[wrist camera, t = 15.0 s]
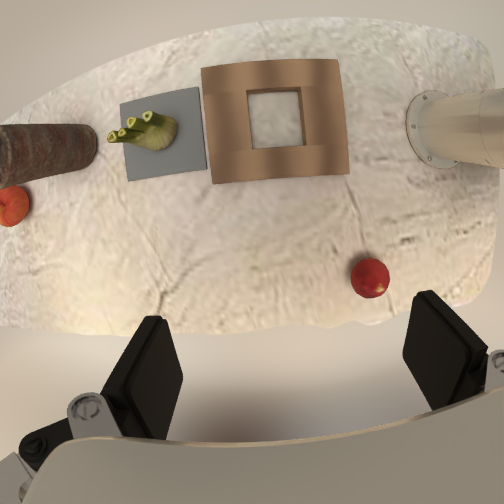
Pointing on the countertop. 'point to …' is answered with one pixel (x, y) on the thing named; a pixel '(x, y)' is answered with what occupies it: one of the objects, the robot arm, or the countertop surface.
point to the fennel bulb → (147, 131)
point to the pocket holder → (311, 111)
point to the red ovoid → (370, 278)
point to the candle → (43, 151)
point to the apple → (13, 205)
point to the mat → (184, 144)
